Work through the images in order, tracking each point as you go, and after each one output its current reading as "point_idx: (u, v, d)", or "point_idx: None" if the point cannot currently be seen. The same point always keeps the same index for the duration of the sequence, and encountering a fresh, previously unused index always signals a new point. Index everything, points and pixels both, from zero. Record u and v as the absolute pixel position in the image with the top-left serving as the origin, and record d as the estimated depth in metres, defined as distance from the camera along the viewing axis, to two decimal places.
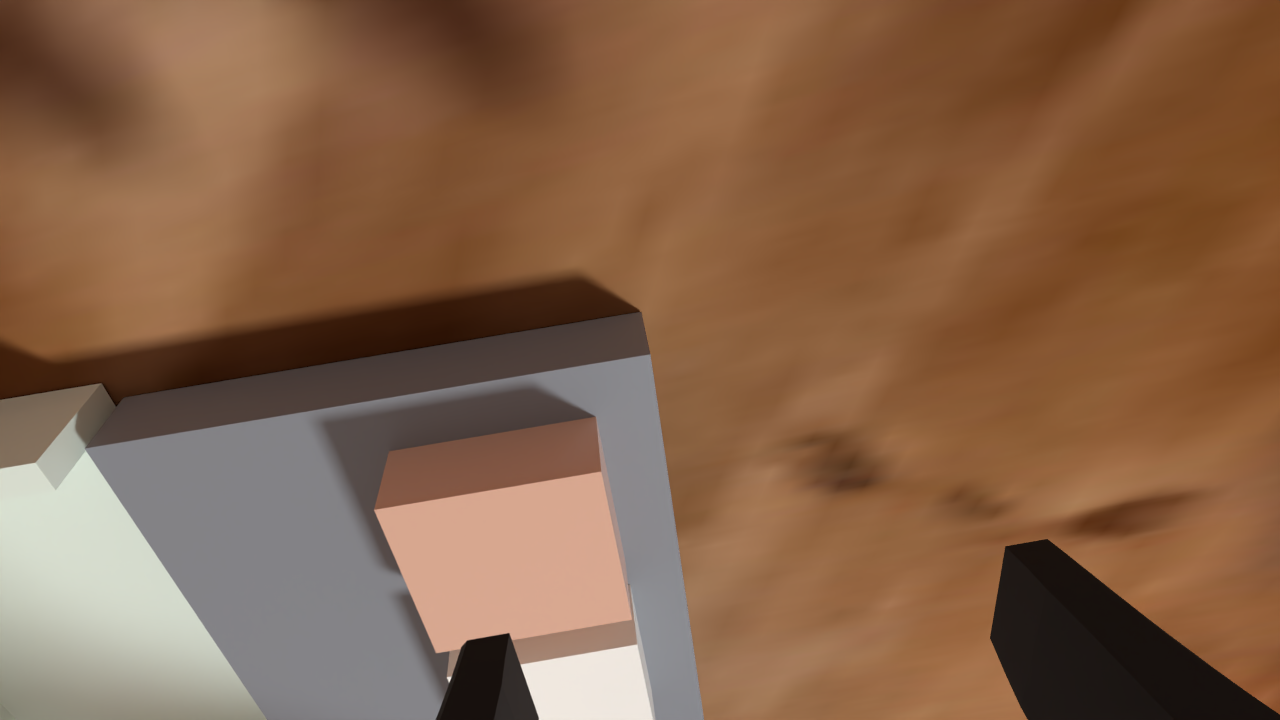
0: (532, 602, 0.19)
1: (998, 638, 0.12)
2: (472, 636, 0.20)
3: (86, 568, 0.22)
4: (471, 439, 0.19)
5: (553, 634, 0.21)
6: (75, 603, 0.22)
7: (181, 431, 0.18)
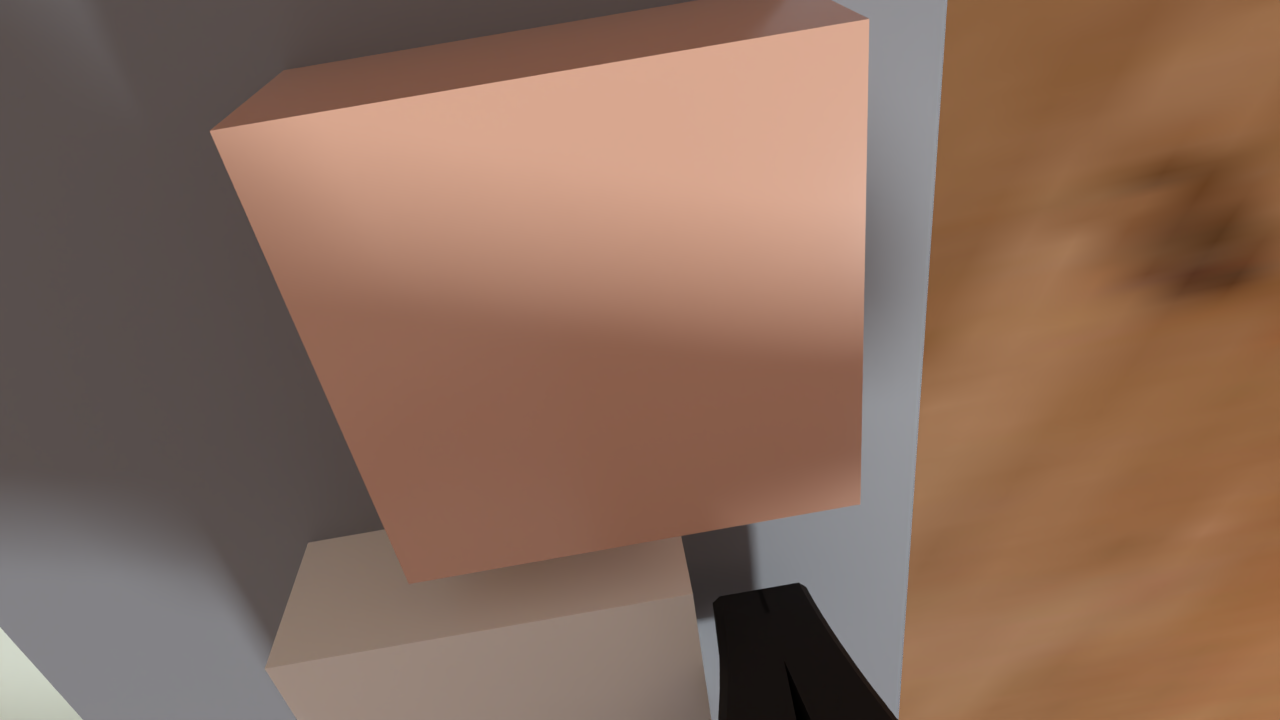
0: (638, 453, 0.08)
1: None
2: (493, 542, 0.08)
3: None
4: (489, 36, 0.08)
5: (509, 576, 0.10)
6: None
7: None
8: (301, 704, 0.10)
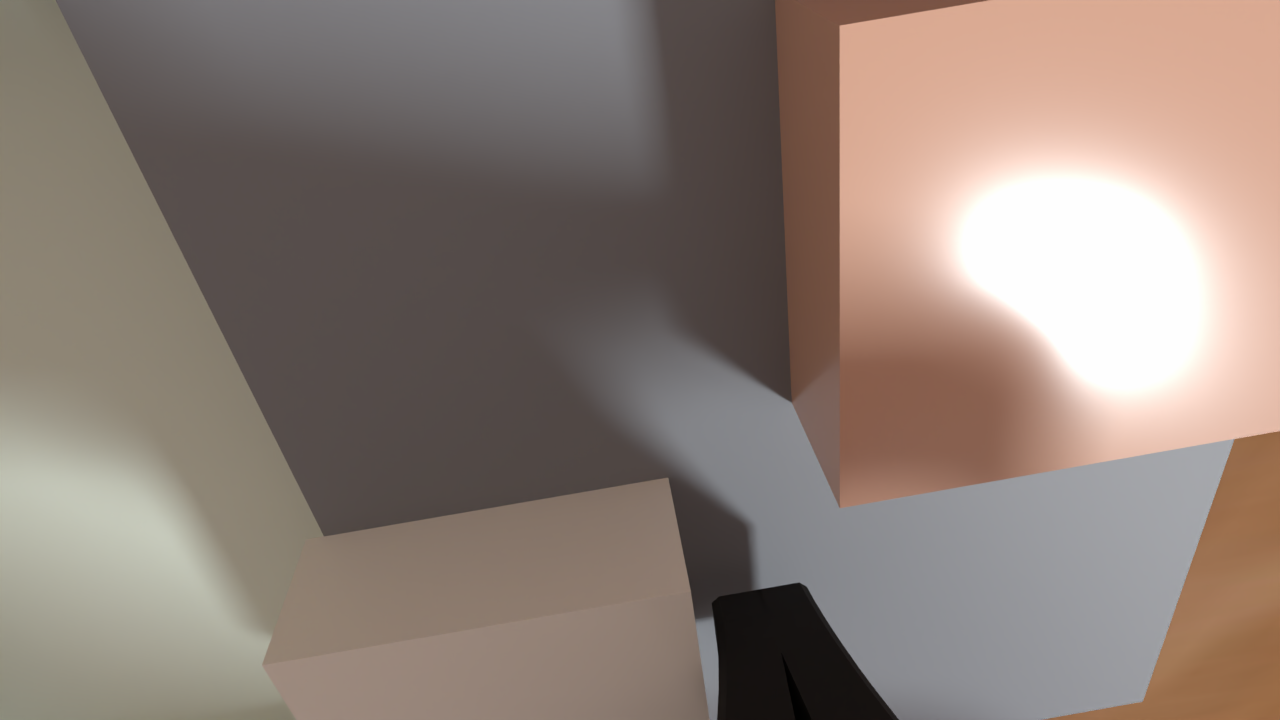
0: (1101, 372, 0.08)
1: None
2: (933, 465, 0.08)
3: (48, 362, 0.10)
4: None
5: (507, 573, 0.10)
6: (29, 445, 0.11)
7: None
8: (298, 701, 0.09)
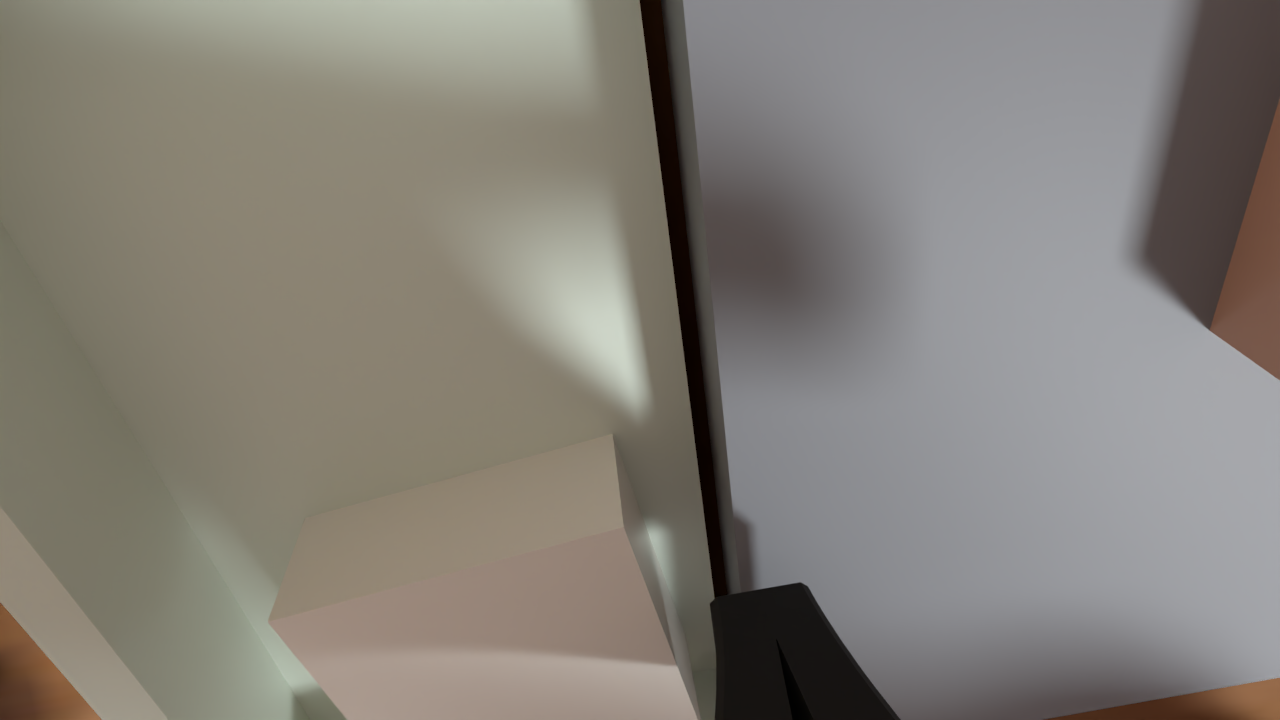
0: None
1: None
2: None
3: (464, 289, 0.11)
4: None
5: (470, 528, 0.11)
6: (421, 375, 0.11)
7: None
8: (304, 652, 0.11)
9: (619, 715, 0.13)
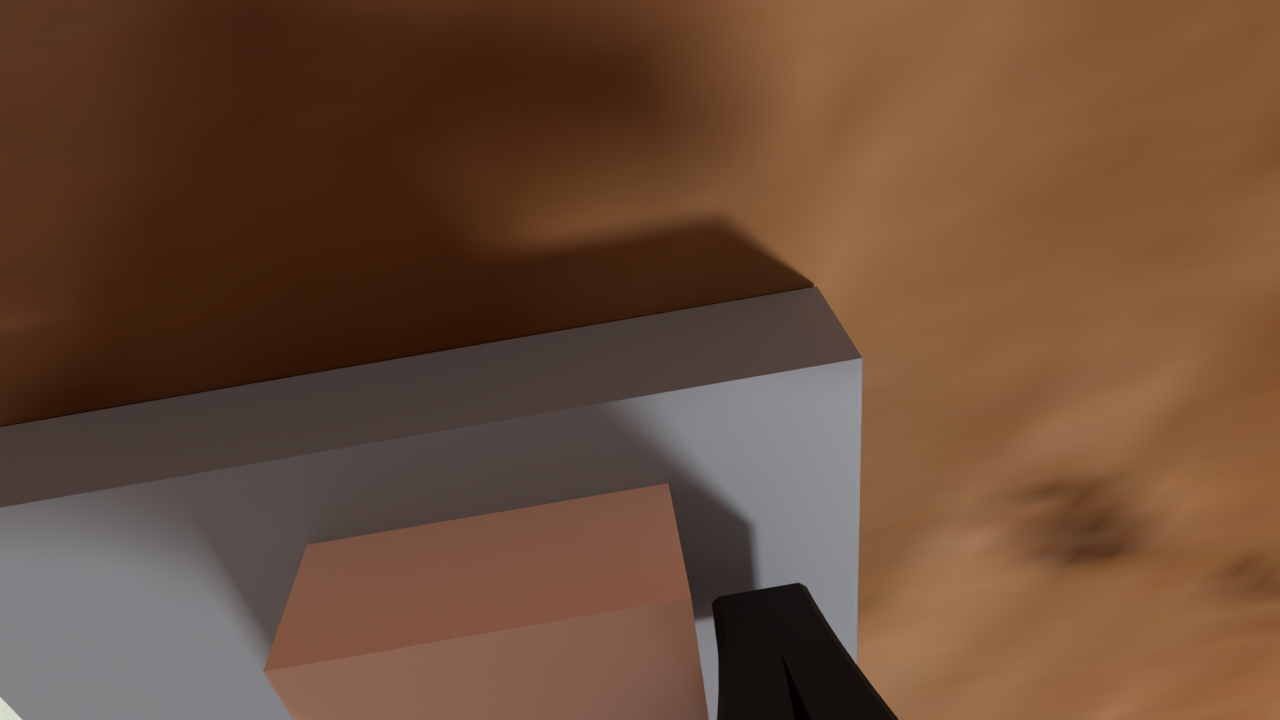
0: None
1: None
2: None
3: None
4: (451, 523, 0.11)
5: None
6: None
7: (19, 502, 0.10)
8: None
9: None
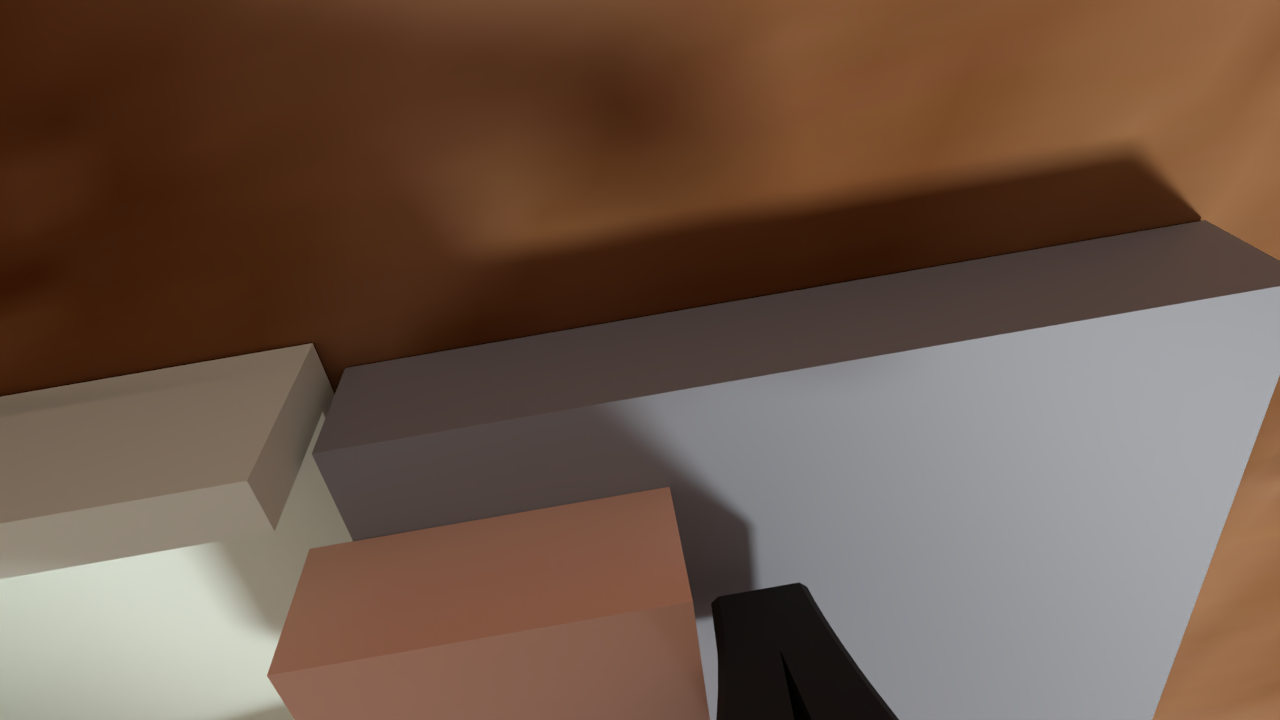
0: None
1: None
2: None
3: (254, 643, 0.14)
4: (453, 527, 0.11)
5: None
6: (230, 695, 0.14)
7: (482, 422, 0.10)
8: None
9: None
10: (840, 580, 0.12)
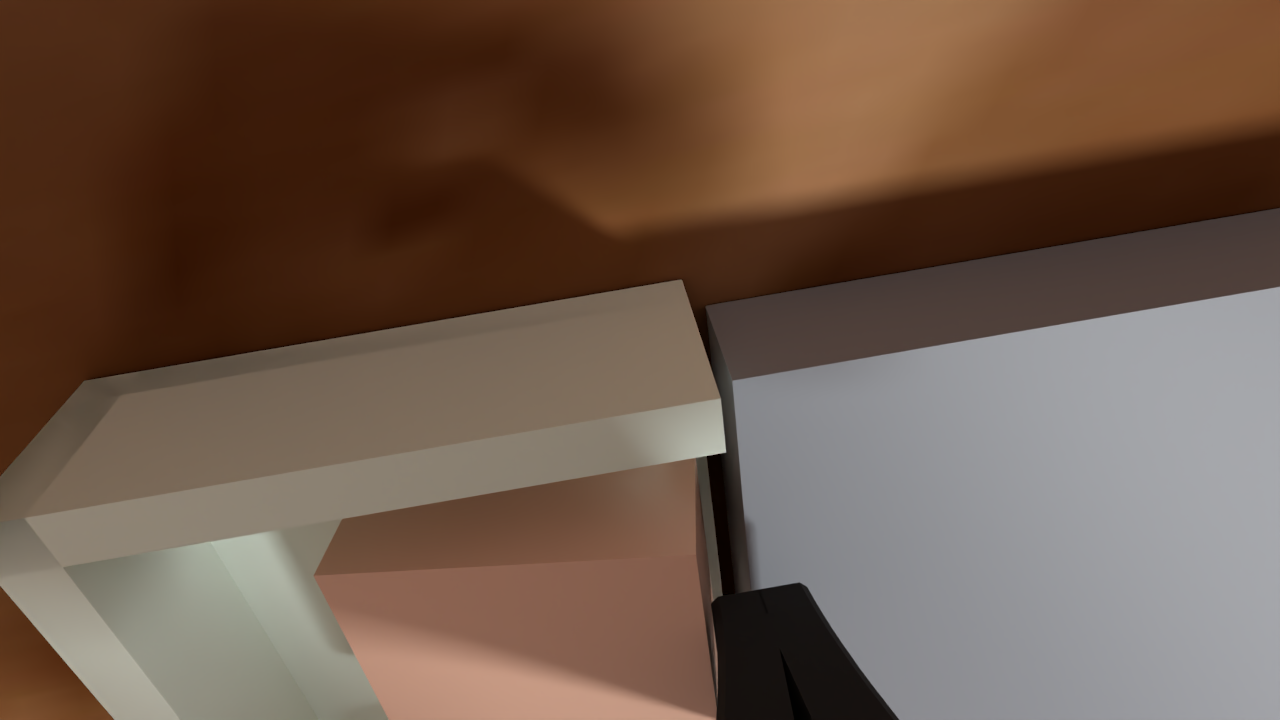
0: None
1: None
2: None
3: None
4: None
5: None
6: None
7: (899, 349, 0.10)
8: None
9: None
10: (1179, 521, 0.12)
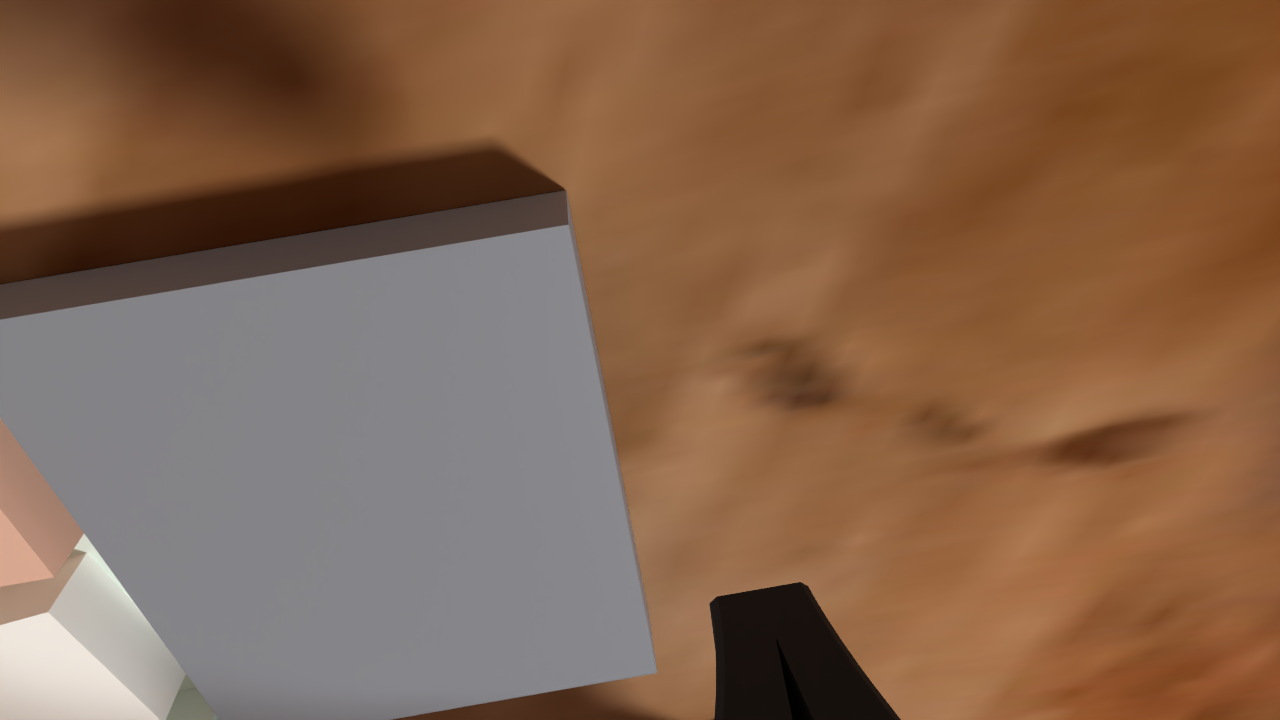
0: None
1: None
2: None
3: None
4: None
5: None
6: None
7: (45, 311, 0.16)
8: None
9: (103, 712, 0.22)
10: (338, 431, 0.18)
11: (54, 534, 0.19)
